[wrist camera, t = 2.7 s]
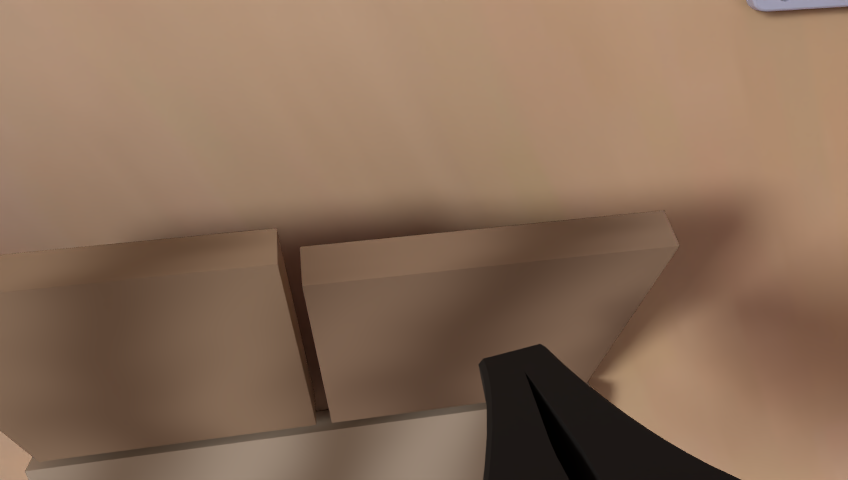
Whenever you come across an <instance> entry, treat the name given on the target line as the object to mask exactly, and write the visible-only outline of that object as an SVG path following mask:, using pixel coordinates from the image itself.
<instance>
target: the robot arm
mask: <svg viewBox="0 0 848 480" xmlns="http://www.w3.org/2000/svg"><path fill="white" fill-rule="evenodd" d="M746 1H747V3H748V5H749V6H750V7H751V8H752V9H755V10H760V11H782V10H798V9H814V8H830V7H846V6H848V0H746ZM478 365H479V370H480V375H481V380H482V385H483V390H484V395H485V401H486V406H487V439H486V453H485V466H484V475H483V480H741V479H738V478H736V477H734V476H732V475H730V474H728V473H726V472H724V471H721V470H719V469H717V468H715V467H713V466H711V465H709V464H707V463H705V462H703V461H701V460H699V459H698V458H696V457H694V456H692V455H690V454H688V453H686V452H685V451H683V450H681V449H680V448H678V447H676V446H674V445H673V444H671V443H669V442H668V441H666V440H664V439H663V438H661V437H660V436H658V435H656V434H655V433H653V432H652V431H650V430H649V429H647V428H646V427H644V426H643V425H641V424H640V423H638V422H637V421H635V420H634V419H632V418H631V417H630V416H628V415H627V414H625V413H624V412H623V411H621V410H620V409H618V408H617V407H616V406H614V405H613V404H612V403H610V402H609V401H608V400H607V399H605V398H604V397H603V396H601V395H600V394H599V393H598V392H596V391H595V390H594V389H592V388H591V387H590V386H589V385H588V384H586V383H585V382H584V381H583V380H582V379H580V378H579V377H578V376H577V375H576V374H575V373H573V372H572V371H571V370H570V369H569V368H568V367H567V366H566V365H564V364H563V363H562V362H561V361H560V360H559V359H558V358H557V357H556V356H555V355H554V354H553V353H552V352H550V351H549V350H548V349H547V348H546V347H545V346H543V345H542V344H537V345H533V346H529V347H526V348H522V349H518V350H514V351H510V352H507V353H503V354H499V355H495V356H491V357H487V358H484V359H482V361H481V362H480V363H479V364H478Z"/></svg>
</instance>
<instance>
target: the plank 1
mask: <svg viewBox="0 0 848 480" xmlns="http://www.w3.org/2000/svg"><path fill="white" fill-rule="evenodd" d="M313 425H316V409H315V395H314V391H313V387H312V382H311V378H310V373H309V369H308V364H307V360H306V356H305V351H304V347H303V342H302V338H301V334H300V329H299V325H298V320H297V316H296V312H295V307H294V303H293V298H292V294H291V290H290V285H289V281H288V276H287V272H286V268H285V263H284V259H283V254H282V250H281V246H280V241H279V237H278V232H277V228H274V229H263V230H253V231H243V232H232V233H222V234H211V235H201V236H191V237H180V238H170V239H160V240H149V241H139V242H128V243H118V244H108V245H97V246H87V247H76V248H66V249H56V250H45V251H35V252H24V253H14V254H4V255H0V431H1V432H2V433H4V434H5V435H6V436H7V437H9V438H10V439H11V440H12V441H14V442H15V443H16V444H17V445H19V446H20V447H21V448H22V449H24V450H25V451H26V452H27V453H29V454H30V455H31V456H32V457H34V458H35V459H36V460H37V461H39V462H42V461H50V460H57V459H65V458H72V457H80V456H87V455H95V454H102V453H110V452H117V451H125V450H132V449H140V448H147V447H155V446H162V445H170V444H177V443H185V442H192V441H200V440H207V439H215V438H222V437H230V436H237V435H245V434H253V433H260V432H268V431H275V430H283V429H290V428H298V427H305V426H313Z"/></svg>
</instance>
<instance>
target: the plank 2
mask: <svg viewBox="0 0 848 480" xmlns="http://www.w3.org/2000/svg"><path fill="white" fill-rule="evenodd" d="M679 246H680V245H679V243H678V241H677V238H676V236H675V234H674V232H673V229H672V227H671V225H670V222H669V220H668V218H667V215H666V213H665V211H664V210H663V211H653V212H643V213H633V214H623V215H613V216H603V217H593V218H583V219H573V220H563V221H553V222H543V223H533V224H524V225H514V226H504V227H494V228H484V229H474V230H464V231H454V232H444V233H434V234H424V235H414V236H404V237H394V238H384V239H374V240H364V241H354V242H344V243H334V244H324V245H314V246H304V247H300V258H301V275H302V288H303V292H304V297H305V302H306V306H307V311H308V315H309V320H310V325H311V329H312V334H313V338H314V343H315V348H316V352H317V357H318V361H319V366H320V371H321V375H322V380H323V384H324V389H325V394H326V398H327V403H328V407H329V412H330V417H331V421H332V423H335V422H343V421H350V420H358V419H365V418H373V417H380V416H388V415H395V414H403V413H410V412H418V411H425V410H433V409H440V408H448V407H455V406H463V405H470V404H478V403H485V402H486V401H485V395H484V390H483V385H482V380H481V375H480V370H479V365H478V364H479V363H480V362H481V361H482V359H484V358H487V357H491V356H495V355H499V354H503V353H507V352H510V351H514V350H518V349H522V348H526V347H529V346H533V345H537V344H542V345H543V346H545V347H546V348H547V349H548V350H549V351H550V352H552V353H553V354H554V355H555V356H556V357H557V358H558V359H559V360H560V361H561V362H562V363H563V364H564V365H566V366H567V367H568V368H569V369H570V370H571V371H572V372H573V373H575V374H576V375H577V376H578V377H579V378H580V379H582V380H583V381H584V382H585V383H587V382H588V380H589V379H590V377H591V376H592V374H593V373H594V371H595V370H596V368H597V367H598V365H599V364H600V362H601V361H602V360H603V358H604V357H605V355H606V354H607V352H608V351H609V349H610V348H611V346H612V345H613V343H614V342H615V340H616V339H617V337H618V336H619V334H620V333H621V331H622V330H623V329H624V327H625V326H626V324H627V323H628V321H629V320H630V318H631V317H632V315H633V314H634V312H635V311H636V309H637V308H638V306H639V305H640V303H641V302H642V301H643V299H644V298H645V296H646V295H647V293H648V292H649V290H650V289H651V287H652V286H653V284H654V283H655V281H656V280H657V278H658V277H659V275H660V274H661V272H662V271H663V270H664V268H665V267H666V265H667V264H668V262H669V261H670V259H671V258H672V256H673V255H674V253H675V252H676V250H677V249H678V247H679Z"/></svg>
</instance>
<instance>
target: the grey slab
mask: <svg viewBox="0 0 848 480" xmlns="http://www.w3.org/2000/svg"><path fill="white" fill-rule="evenodd" d="M586 384H588V385H589V383H588V382H587V383H586ZM589 386H590V385H589ZM590 387H591V386H590ZM486 439H487V406H486V402H485V403H478V404H470V405H463V406H455V407H448V408H440V409H433V410H425V411H418V412H410V413H403V414H395V415H388V416H380V417H373V418H365V419H358V420H350V421H343V422H335V423H332V421H331V417H330V412H329V410H325V411H317V412H316V425H313V426H305V427H298V428H290V429H283V430H275V431H268V432H260V433H253V434H245V435H237V436H230V437H222V438H215V439H207V440H200V441H192V442H185V443H177V444H170V445H162V446H155V447H147V448H140V449H132V450H125V451H117V452H110V453H102V454H95V455H87V456H80V457H72V458H65V459H57V460H50V461H42V462H39V461H37V460H36V459H35V458H34V457H32V459H31V461H30V462H29V464H28V466H27V468H26V470H25V473H26V475H27V477H28V480H483V475H484V466H485V453H486Z"/></svg>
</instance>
